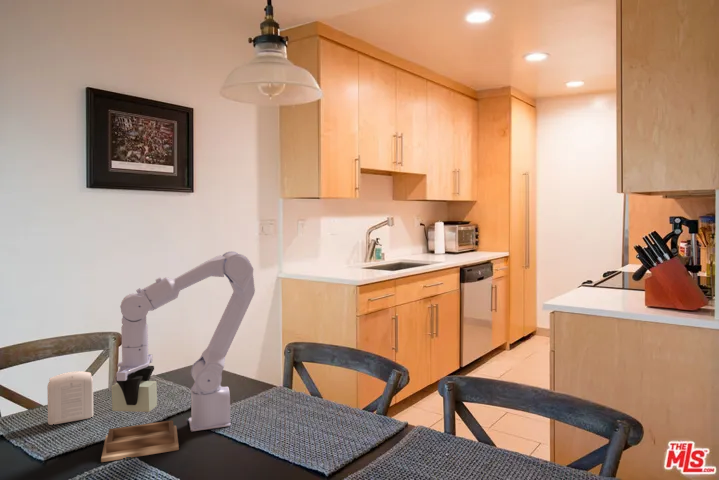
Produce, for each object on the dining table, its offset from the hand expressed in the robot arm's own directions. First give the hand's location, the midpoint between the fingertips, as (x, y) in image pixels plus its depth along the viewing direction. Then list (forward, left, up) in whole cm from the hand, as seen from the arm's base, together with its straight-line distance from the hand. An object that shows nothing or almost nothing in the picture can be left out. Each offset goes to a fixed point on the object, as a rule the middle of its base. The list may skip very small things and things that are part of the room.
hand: (136, 400), depth 122 cm
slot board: (-1, +5, -8) cm, 10 cm away
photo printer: (+16, -16, -9) cm, 24 cm away
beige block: (0, 0, -2) cm, 2 cm away
